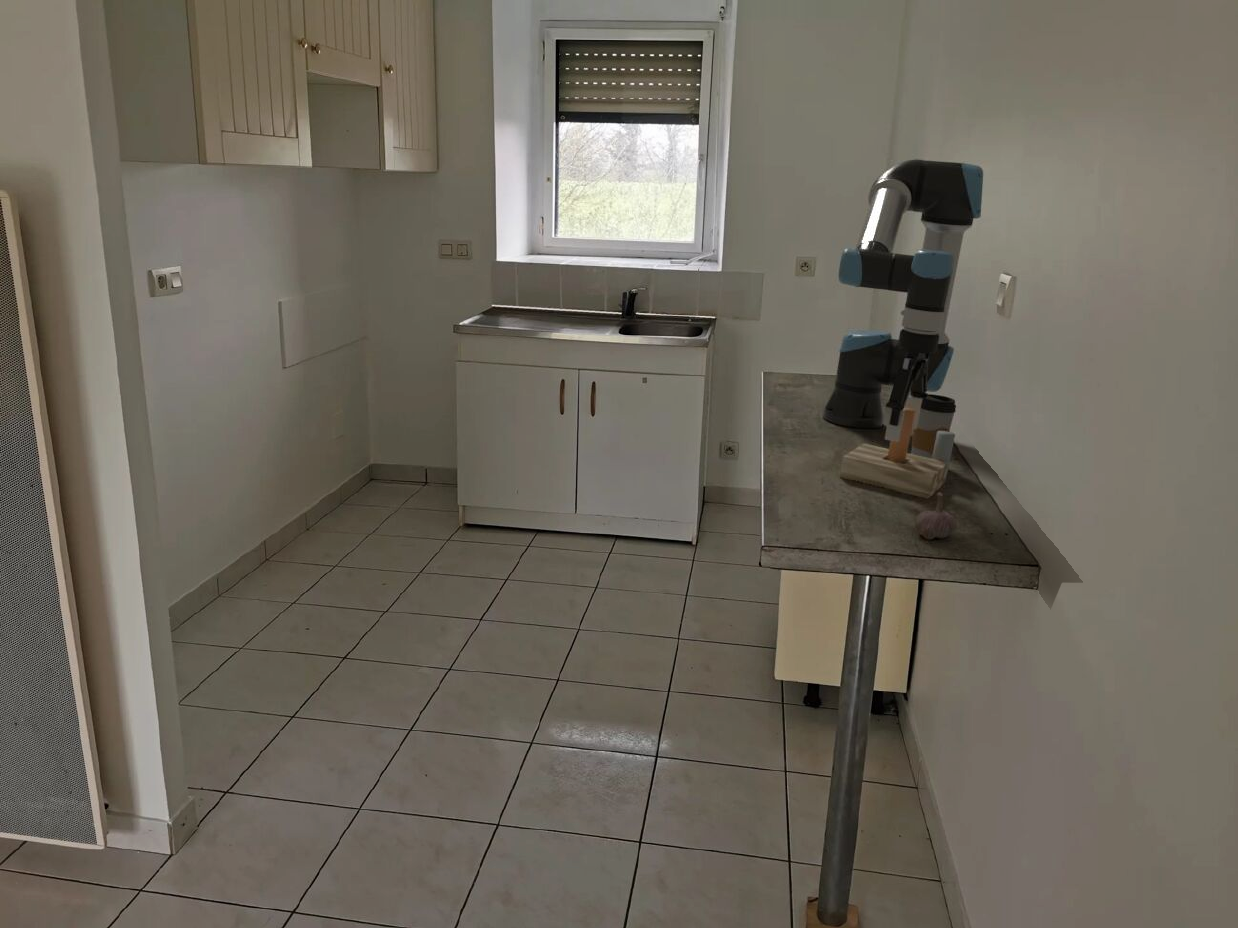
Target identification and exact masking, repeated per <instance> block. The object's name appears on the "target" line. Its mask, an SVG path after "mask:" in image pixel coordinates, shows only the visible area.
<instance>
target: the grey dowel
mask: <svg viewBox="0 0 1238 928" xmlns="http://www.w3.org/2000/svg"><path fill="white" fill-rule="evenodd" d="M955 438H956V434H955V433H953V432H951V431H950V432H947V431H937V435H936V440H935V445H934V450H933V455H932V459H935V460H940V461H944V462H949V463H948V468H947V473H946V478H945V482H946V481H947V477H948V471H949V466H950V462H951V458H952V452H953V447H954V442H955Z"/></svg>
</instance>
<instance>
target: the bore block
mask: <svg viewBox="0 0 1238 928" xmlns="http://www.w3.org/2000/svg"><path fill="white" fill-rule="evenodd" d="M888 452H889V448H885V447H882V446H881V447H880V446H875V445H872V444H868V443H863V444H861V445H859V446H857V447H856V448H855V449H852V450H851V451H849V452H848V453H846V454H845V455H842V461H841V466H840V473H839V478H841V479H845V480H849V481H853V480H856V481H855V482H857V481H860V482H859V483H861V482H865V483H868V484H867V485H869V484H872V485H871V486H873V485H876V486H875V487H877V486H879V487H878V488H881V487H884V488H883V489H886V488H887V489H886V490H890V489H891V490H890V491H894V490H895V491H894V492H899V493H902V494H906V495H910V496H913V497H919V498H923V499H928V500H929V498H931V497H932V496H933V494H935V493H936V492H937V491H938V490H939V489H940V488H941V487H942V486H943V485H944V484H945V482H946V481H945V478H946V479H947V477H946V473H947V474H948V472H947V468H948V469H949V467H948V463H949V464H950V462H944V461H940V460H935V459H931V458H926V457H922V456H917V455H913V454H911V453H908V452H907V455H906V460H905V464H901V463H897V462H892V461H888V460H887V457H888ZM865 483H864V484H865Z"/></svg>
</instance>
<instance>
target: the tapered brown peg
mask: <svg viewBox="0 0 1238 928" xmlns="http://www.w3.org/2000/svg"><path fill="white" fill-rule="evenodd" d="M904 410H905V412H904V418H903V423H902V429H901V434H900V439H899V442H894V441H889V446H888V447H889V448H888V449H889V452H888V457H887V460H888V461H892V462H897V463H901V464H905V460H906V455H907V453H908V449H909V445H910V440H911V434H912V430H913V429H912V425H913V420H914V415H915V410H914V409H911V408H907V406H906V407H905V406H904Z"/></svg>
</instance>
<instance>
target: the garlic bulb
mask: <svg viewBox="0 0 1238 928" xmlns="http://www.w3.org/2000/svg"><path fill="white" fill-rule="evenodd" d="M943 506H944V494H943V493H942V492H937V494H936V507H935V510H933V511H932V510H925V511H922V512H920V513H919V514H918V515H917V516H916V518H915V521H914V524H915V529H916V532H917V533H918V534H920V535H921V536H923V538H924V539H926V540H933V539H935V538H937V539H943V538H944V539H945V538H946V537H947V538H948V536H950V535H952V534H953V533H954V532H955V531H956V530H957V525H958V524H957V520H956V518H955V517H954V515H952V514H951V513H949V512H947V511H945V510H944V507H943Z"/></svg>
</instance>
